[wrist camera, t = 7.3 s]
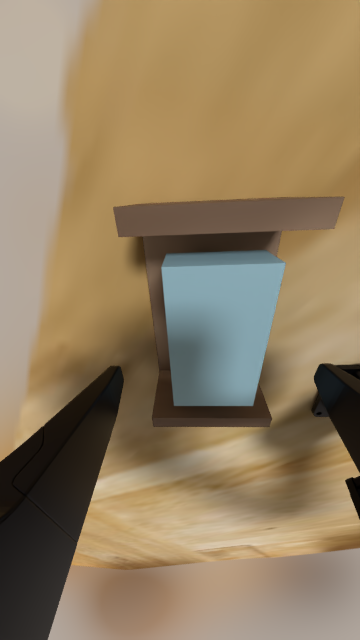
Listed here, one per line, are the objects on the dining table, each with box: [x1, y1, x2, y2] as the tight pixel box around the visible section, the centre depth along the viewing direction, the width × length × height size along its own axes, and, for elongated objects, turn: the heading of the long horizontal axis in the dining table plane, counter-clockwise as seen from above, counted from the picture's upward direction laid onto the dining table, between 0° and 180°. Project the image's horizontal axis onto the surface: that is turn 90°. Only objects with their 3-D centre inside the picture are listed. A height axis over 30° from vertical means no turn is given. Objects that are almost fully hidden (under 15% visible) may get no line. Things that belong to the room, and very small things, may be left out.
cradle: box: [113, 197, 344, 427], centre depth 13 cm, size 14×8×5 cm, turn 2°
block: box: [161, 250, 286, 406], centre depth 12 cm, size 9×5×2 cm, turn 2°
